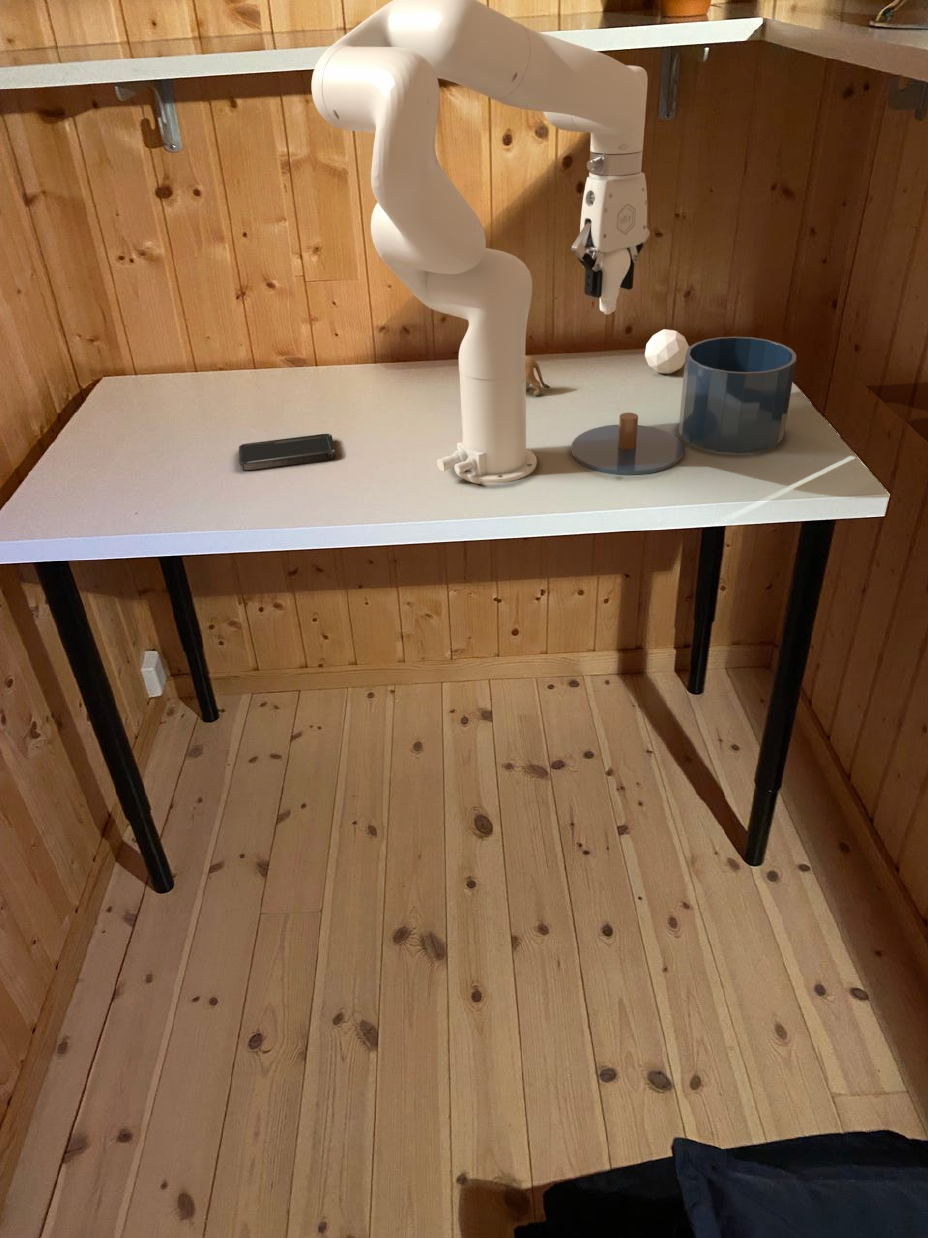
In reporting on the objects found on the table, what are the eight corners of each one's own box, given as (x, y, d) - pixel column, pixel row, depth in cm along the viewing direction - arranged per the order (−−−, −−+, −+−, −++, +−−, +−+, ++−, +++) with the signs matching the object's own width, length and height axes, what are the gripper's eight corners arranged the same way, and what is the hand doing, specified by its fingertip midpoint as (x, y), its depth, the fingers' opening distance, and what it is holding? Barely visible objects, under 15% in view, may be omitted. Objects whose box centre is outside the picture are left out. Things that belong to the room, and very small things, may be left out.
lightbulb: (626, 308, 148) (630, 236, 142) (627, 319, 143) (632, 245, 137) (587, 308, 148) (590, 236, 142) (588, 319, 144) (591, 245, 137)
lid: (626, 489, 132) (629, 450, 129) (548, 452, 144) (549, 414, 140) (706, 455, 140) (710, 416, 137) (626, 422, 152) (628, 386, 148)
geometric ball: (653, 387, 170) (629, 354, 167) (673, 360, 174) (649, 327, 171) (684, 377, 164) (659, 342, 161) (704, 348, 167) (680, 314, 164)
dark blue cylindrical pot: (737, 465, 137) (748, 381, 129) (657, 433, 148) (664, 353, 140) (804, 435, 144) (818, 354, 137) (724, 406, 155) (733, 329, 148)
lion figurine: (468, 400, 162) (466, 350, 157) (467, 389, 167) (465, 340, 162) (551, 395, 163) (552, 345, 157) (548, 384, 167) (548, 335, 162)
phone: (335, 452, 145) (238, 464, 143) (336, 458, 145) (240, 471, 143) (331, 432, 151) (238, 443, 149) (332, 438, 152) (240, 450, 150)
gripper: (589, 175, 127) (584, 307, 137) (675, 160, 135) (664, 286, 145) (553, 169, 132) (551, 297, 142) (638, 155, 140) (630, 277, 150)
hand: (608, 290), depth 144 cm, fingers closed on lightbulb, 6 cm apart
